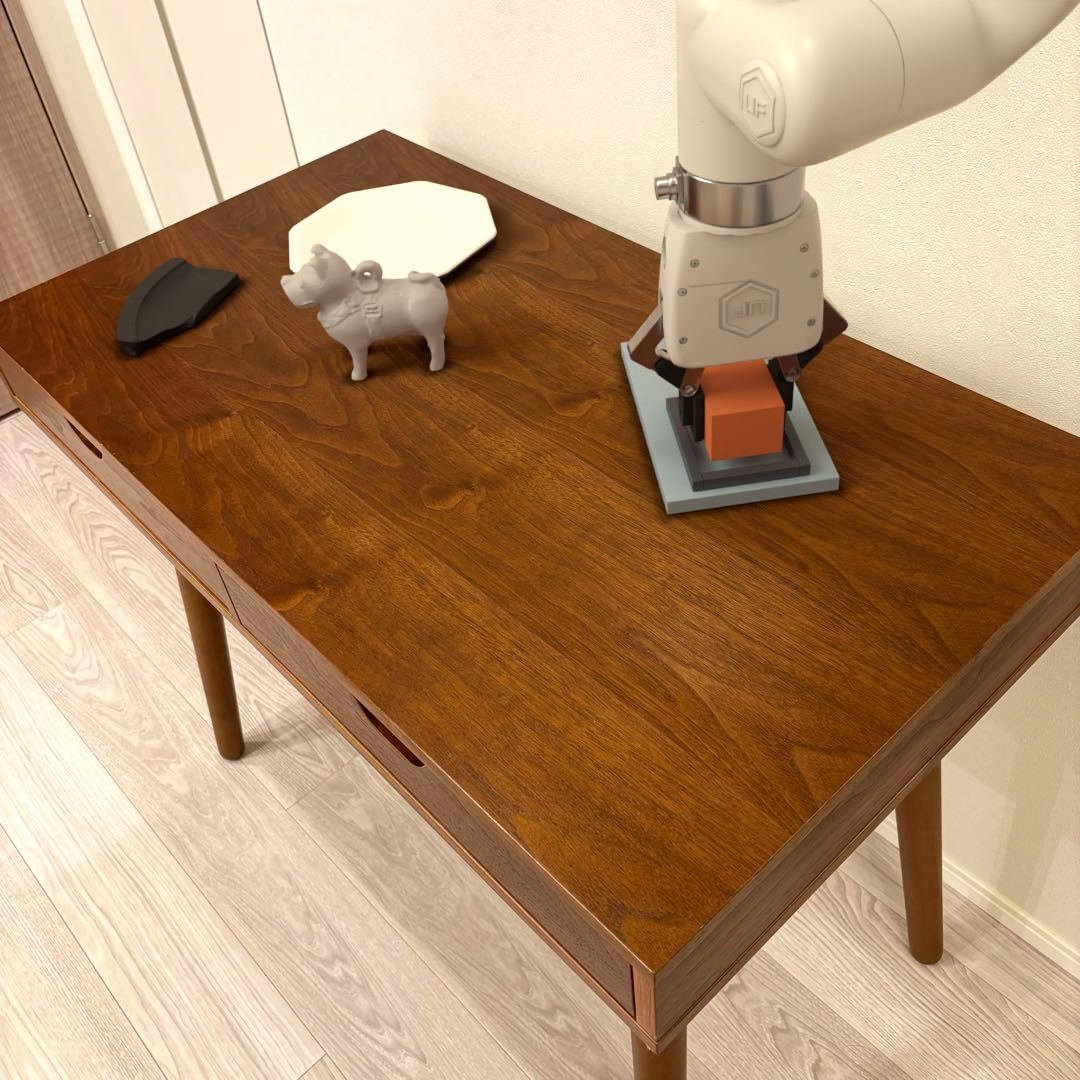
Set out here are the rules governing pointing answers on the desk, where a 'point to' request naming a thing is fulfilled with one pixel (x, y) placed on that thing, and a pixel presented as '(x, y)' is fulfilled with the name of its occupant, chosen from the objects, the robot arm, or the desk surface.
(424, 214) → the plate
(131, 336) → the fan shaped piece
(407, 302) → the dog figurine
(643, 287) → the desk surface
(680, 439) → the gray fixture board
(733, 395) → the orange rectangular block
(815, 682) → the desk surface
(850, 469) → the desk surface
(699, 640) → the desk surface
